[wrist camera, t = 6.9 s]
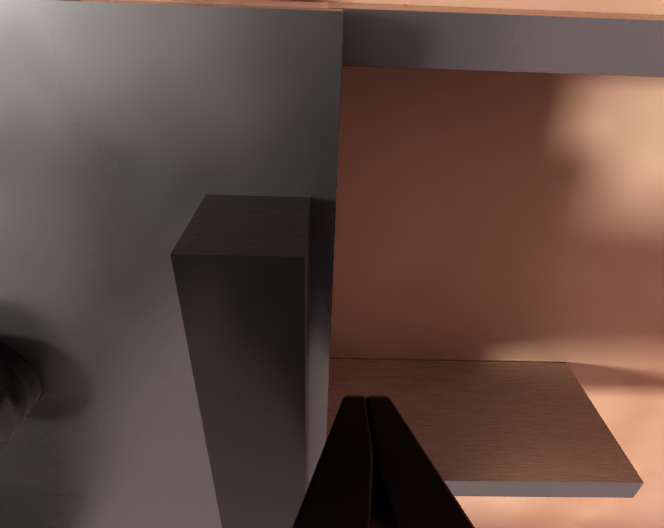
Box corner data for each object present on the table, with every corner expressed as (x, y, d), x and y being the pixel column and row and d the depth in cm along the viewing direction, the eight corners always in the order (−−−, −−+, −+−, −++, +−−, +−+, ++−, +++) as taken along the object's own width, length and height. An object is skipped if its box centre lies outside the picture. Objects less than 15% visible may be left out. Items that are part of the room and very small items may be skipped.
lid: (322, 507, 13) (321, 621, 11) (-86, 504, 13) (-180, 621, 10) (341, 9, 6) (349, 17, 4) (-537, -26, 6) (-1110, -36, 4)
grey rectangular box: (545, 408, 19) (611, 533, 15) (36, 401, 19) (-55, 529, 14) (758, -81, 10) (1092, -139, 6) (-216, -125, 10) (-681, -228, 5)
